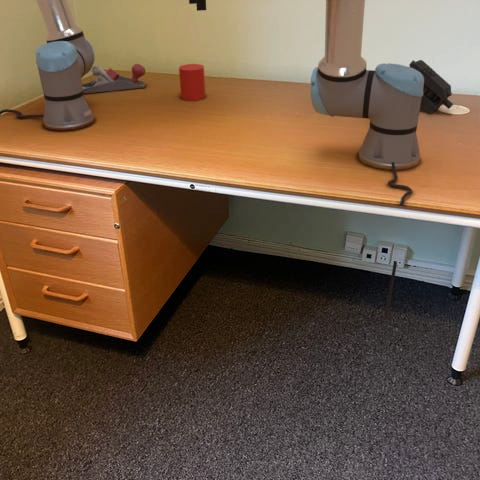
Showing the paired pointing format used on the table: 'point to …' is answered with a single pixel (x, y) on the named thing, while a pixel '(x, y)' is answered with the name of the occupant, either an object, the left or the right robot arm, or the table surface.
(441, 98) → the tool
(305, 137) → the table surface
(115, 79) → the hand plane
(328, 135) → the table surface
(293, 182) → the table surface
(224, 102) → the table surface
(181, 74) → the canister
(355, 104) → the right robot arm
